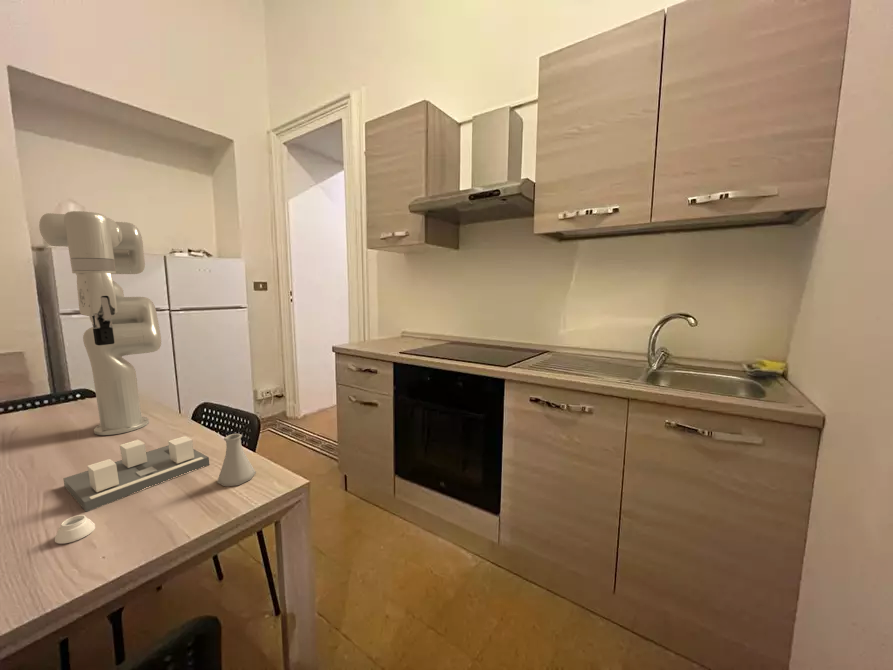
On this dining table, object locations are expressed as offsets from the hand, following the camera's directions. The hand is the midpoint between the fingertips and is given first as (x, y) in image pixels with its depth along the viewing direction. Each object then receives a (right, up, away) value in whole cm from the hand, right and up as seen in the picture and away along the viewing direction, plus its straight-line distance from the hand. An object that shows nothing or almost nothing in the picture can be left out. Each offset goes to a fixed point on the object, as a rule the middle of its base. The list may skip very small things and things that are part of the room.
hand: (105, 344), depth 90 cm
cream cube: (+20, -27, -1) cm, 34 cm away
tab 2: (+10, -28, -3) cm, 30 cm away
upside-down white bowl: (+17, -33, -24) cm, 45 cm away
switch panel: (+12, -30, -5) cm, 33 cm away
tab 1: (+12, -29, -13) cm, 34 cm away
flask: (+35, -30, -6) cm, 47 cm away
